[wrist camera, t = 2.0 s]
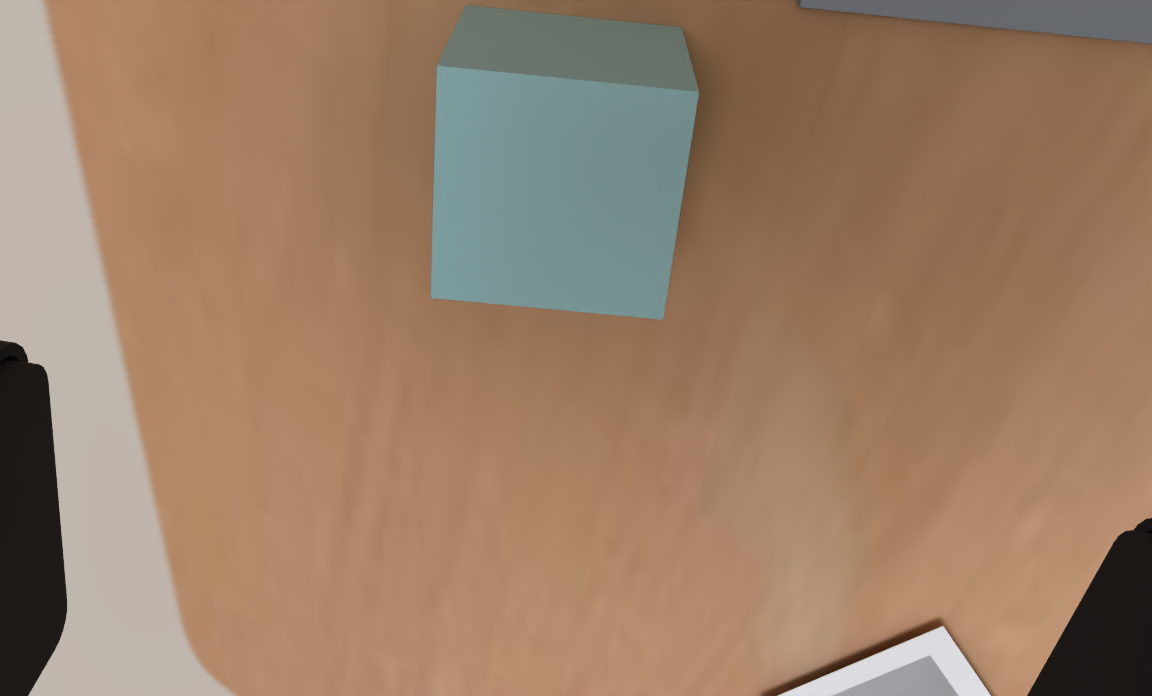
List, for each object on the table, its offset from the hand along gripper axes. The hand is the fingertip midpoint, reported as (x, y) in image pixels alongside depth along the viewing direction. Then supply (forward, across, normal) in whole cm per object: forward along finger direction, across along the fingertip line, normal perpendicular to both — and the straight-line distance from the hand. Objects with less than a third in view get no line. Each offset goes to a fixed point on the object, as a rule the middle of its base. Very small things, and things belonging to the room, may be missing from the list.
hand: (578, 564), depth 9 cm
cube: (+23, 0, +3) cm, 23 cm away
